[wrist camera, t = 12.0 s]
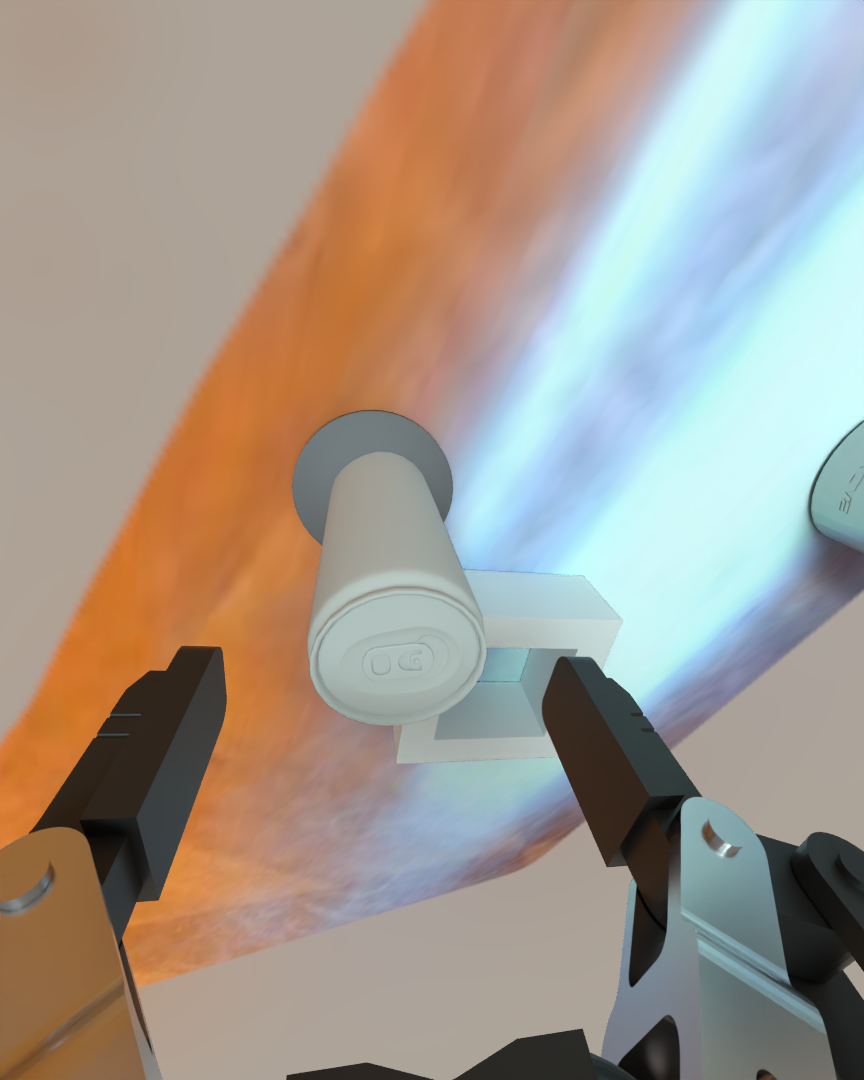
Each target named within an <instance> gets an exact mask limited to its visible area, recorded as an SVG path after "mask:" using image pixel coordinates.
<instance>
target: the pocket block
mask: <svg viewBox="0 0 864 1080" xmlns="http://www.w3.org/2000/svg"><path fill="white" fill-rule="evenodd" d="M463 571H464V573H465V575H466V578H467V580H468V583H469V585H470V587H471V590H472V592H473V594H474V597H475V599H476V602H477V604H478V606H479V609H480V611H481V614H482V616H483V622H484V631H485V639H486V648H531V649H530V652H529V655H528V658H527V662H526V665H525V668H524V671H523V674H522V677H521V680H520V682H477V683H476V685H475V687H474V688H473V689H472V690H471V691H470V692H469V693H468V694H467V695H466V696H465V697H464V698H463V699H462V700H461V701H460V702H459V703H457V704H456V705H454V706H453V707H451V708H450V709H448V710H447V711H445V712H443V713H441V714H439V715H436V716H434V717H432V718H429V719H427V720H424V721H420V722H416V723H411V724H407V725H394V726H393V733H394V745H395V757H396V764H406V763H429V762H453V761H476V760H500V759H523V758H547V757H558V754H557V752H556V750H555V747H554V745H553V743H552V741H551V738H550V736H549V734H548V731H547V729H546V727H545V724H544V721H543V717H542V700H543V697H544V694H545V691H546V688H547V686H548V683H549V680H550V678H551V675H552V672H553V669H554V667H555V664H556V662H557V660H558V658H559V657H561V656H576V657H591V658H593V659H594V660H595V662H596V663H597V664H598V666H599V667H600V669H601V670H602V669H603V666H604V664H605V662H606V659H607V657H608V655H609V652H610V650H611V648H612V646H613V643H614V641H615V639H616V636H617V634H618V632H619V629H620V627H621V625H622V622H623V620H622V618H621V617H620V616H619V615H618V614H617V613H616V612H615V611H614V609H613V608H612V607H611V606H610V605H609V604H608V603H607V601H606V600H605V599H604V598H603V597H602V596H601V595H600V594H599V592H598V591H597V590H596V589H595V588H594V587H593V586H592V584H591V583H590V582H589V581H588V580H587V579H586V578H585V577H584V576H576V575H558V574H539V573H520V572H501V571H482V570H463Z"/></svg>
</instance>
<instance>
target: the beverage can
mask: <svg viewBox="0 0 864 1080" xmlns="http://www.w3.org/2000/svg"><path fill="white" fill-rule="evenodd" d="M307 645H308V659H309V662H310V676H311V679H312V681H313V684H314V686H315V689H316V691H317V693H318V694H319V695H320V696H321V698H322V699H323V700H324V701H325V702H326V703H327V705H328V706H329V707H331V708H332V709H334V710H335V711H337V712H339V713H340V714H342V715H343V716H345V717H347V718H350V719H353V720H356V721H359V722H361V723H365V724H373V725H380V726H394V725H407V724H411V723H416V722H420V721H424V720H427V719H429V718H432V717H434V716H436V715H439V714H441V713H443V712H445V711H447V710H448V709H450V708H451V707H453V706H454V705H456V704H457V703H459V702H460V701H461V700H462V699H463V698H464V697H465V696H466V695H467V694H468V693H469V692H470V691H471V690H472V689H473V688H474V687H475V685H476V683H477V681H478V680H479V678H480V676H481V674H482V672H483V670H484V665H485V661H486V657H487V648H486V639H485V631H484V622H483V616H482V614H481V611H480V609H479V606H478V604H477V602H476V599H475V597H474V594H473V592H472V590H471V587H470V585H469V583H468V580H467V578H466V575H465V573H464V571H463V568H462V566H461V563H460V561H459V559H458V556H457V554H456V552H455V549H454V547H453V544H452V542H451V540H450V537H449V535H448V532H447V530H446V528H445V525H444V523H443V521H442V518H441V516H440V513H439V511H438V509H437V506H436V504H435V501H434V499H433V497H432V494H431V492H430V489H429V487H428V485H427V483H426V480H425V478H424V476H423V474H422V472H421V471H420V470H419V469H418V468H417V467H416V466H415V464H414V463H412V462H411V461H409V460H408V459H406V458H405V457H403V456H400V455H397V454H394V453H391V452H374V453H370V454H366V455H363V456H361V457H359V458H358V459H356V460H354V461H352V462H351V463H349V464H348V465H347V466H346V467H344V468H343V469H342V470H341V472H340V473H339V474H338V476H337V477H336V478H335V481H334V484H333V487H332V490H331V496H330V502H329V508H328V514H327V520H326V526H325V532H324V538H323V544H322V550H321V556H320V562H319V568H318V574H317V580H316V586H315V592H314V598H313V604H312V610H311V616H310V623H309V629H308V636H307Z"/></svg>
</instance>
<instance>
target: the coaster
mask: <svg viewBox="0 0 864 1080" xmlns="http://www.w3.org/2000/svg"><path fill="white" fill-rule="evenodd" d="M374 452H391V453H394V454H397V455H400V456H403V457H405V458H406V459H408V460H409V461H411V462H412V463H414V464H415V466H416V467H417V468H418V469H419V470H420V471H421V472H422V474H423V476H424V478H425V480H426V483H427V485H428V487H429V489H430V492H431V494H432V497H433V499H434V501H435V504H436V506H437V509H438V511H439V513H440V516H441V518H442V521H443V522H444V521H445V519H446V517H447V514H448V512H449V509H450V505H451V501H452V493H453V482H452V475H451V470H450V467H449V464H448V461H447V459H446V457H445V455H444V453H443V451H442V450H441V448H440V447H439V445H438V443H437V442H436V441H435V440H434V438H433V437H432V436H431V435H430V434H429V433H428V432H427V431H426V430H425V429H424V428H422V427H421V426H420V425H418V424H417V423H415V422H414V421H412V420H410V419H408V418H406V417H404V416H401V415H398V414H395V413H392V412H387V411H381V410H363V411H356V412H352V413H348V414H345V415H342V416H339V417H337V418H335V419H333V420H332V421H330V422H328V423H327V424H325V425H324V426H323V427H321V428H320V429H319V430H318V431H317V432H316V433H315V434H314V435H313V436H312V437H311V438H310V439H309V441H308V442H307V443H306V445H305V446H304V448H303V450H302V452H301V454H300V456H299V458H298V461H297V463H296V466H295V470H294V475H293V485H292V489H293V499H294V503H295V507H296V510H297V513H298V516H299V517H300V519H301V521H302V523H303V525H304V526H305V528H306V529H307V530H308V532H309V533H310V534H311V535H312V536H313V537H314V539H315V540H317V541H318V542H319V543H320V544H321V545H322V544H323V538H324V532H325V526H326V520H327V514H328V508H329V502H330V496H331V490H332V487H333V484H334V481H335V478H336V477H337V476H338V474H339V473H340V472H341V470H342V469H343V468H344V467H346V466H347V465H348V464H349V463H351V462H352V461H354V460H356V459H358V458H359V457H361V456H363V455H366V454H370V453H374Z"/></svg>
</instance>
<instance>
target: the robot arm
mask: <svg viewBox="0 0 864 1080" xmlns="http://www.w3.org/2000/svg"><path fill="white" fill-rule="evenodd" d="M811 512H812V518H813V522H814V524H815V525H816V527H817V529H818V530H819V531H820V532H821V533H822V534H824V535H825V536H826V537H829V538H831V539H833V540H835V541H837V542H839V543H842V544H844V545H846V546H848V547H850V548H853V549H855V550H857V551H859V552H861V553H863V554H864V422H863V423H862V424H861V425H860V426H859V427H857V428H856V429H855V430H854V431H853V432H852V433H851V434H850V435H849V436H847V438H846V439H845V440H844V441H843V442H842V443H841V444H840V446H839V447H838V448H837V449H836V450H835V451H834V453H833V454H832V456H831V457H830V459H829V460H828V462H827V463H826V465H825V466H824V468H823V470H822V472H821V474H820V476H819V478H818V480H817V482H816V486H815V489H814V493H813V496H812V505H811ZM226 702H227V695H226V684H225V673H224V661H223V652H222V649H221V647H207V646H182V647H181V648H180V649H179V650H178V651H177V653H176V655H175V656H174V658H173V660H172V662H171V663H170V665H169V667H168V668H167V670H166V671H149V672H148V673H146V674H145V675H144V676H143V677H141V678H140V679H139V680H138V681H136V682H135V683H134V684H133V685H131V686H130V687H129V688H128V689H126V690H125V692H124V693H123V695H122V696H121V698H120V699H119V701H118V702H117V704H116V705H115V707H114V709H113V710H112V712H111V713H110V717H109V718H107V719H106V721H105V722H104V724H103V725H102V727H101V728H100V730H99V731H98V733H97V737H96V738H94V739H93V740H92V742H91V743H90V745H89V746H88V748H87V749H86V751H85V752H84V754H83V755H82V757H81V758H80V760H79V761H78V763H77V764H76V766H75V767H74V769H73V770H72V772H71V773H70V775H69V776H68V778H67V779H66V781H65V782H64V784H63V785H62V787H61V788H60V790H59V791H58V793H57V795H56V796H55V798H54V799H53V801H52V802H51V804H50V805H49V807H48V808H47V810H46V811H45V813H44V814H43V816H42V817H41V819H40V820H39V821H38V823H37V824H36V825H35V827H34V828H33V829H32V830H31V831H30V832H29V834H28V835H25V836H23V837H21V838H19V839H17V840H15V841H13V842H12V843H10V844H8V845H6V846H5V847H3V848H2V849H0V1080H163V1079H162V1076H161V1073H160V1069H159V1066H158V1063H157V1060H156V1056H155V1052H154V1049H153V1045H152V1042H151V1038H150V1034H149V1030H148V1027H147V1023H146V1020H145V1016H144V1012H143V1009H142V1005H141V1001H140V998H139V994H138V990H137V987H136V983H135V979H134V976H133V972H132V968H131V965H130V961H129V957H128V954H127V950H126V946H125V943H124V939H123V934H124V932H125V929H126V927H127V924H128V922H129V919H130V917H131V914H132V912H133V909H134V907H135V904H136V902H143V901H156V900H159V898H160V895H161V892H162V889H163V887H164V884H165V881H166V878H167V876H168V873H169V870H170V867H171V865H172V862H173V859H174V856H175V854H176V851H177V848H178V845H179V843H180V840H181V837H182V834H183V832H184V829H185V826H186V823H187V821H188V818H189V815H190V813H191V810H192V807H193V804H194V802H195V799H196V796H197V793H198V791H199V788H200V785H201V782H202V780H203V777H204V774H205V771H206V769H207V766H208V763H209V760H210V758H211V755H212V752H213V749H214V747H215V744H216V741H217V738H218V736H219V733H220V730H221V727H222V724H223V721H224V717H225V711H226ZM542 717H543V721H544V724H545V727H546V729H547V731H548V734H549V736H550V738H551V741H552V743H553V745H554V747H555V750H556V752H557V754H558V757H559V759H560V761H561V763H562V766H563V768H564V770H565V773H566V775H567V777H568V779H569V782H570V784H571V786H572V789H573V791H574V793H575V795H576V798H577V800H578V802H579V805H580V807H581V809H582V811H583V814H584V816H585V818H586V821H587V823H588V825H589V827H590V830H591V832H592V834H593V837H594V839H595V841H596V843H597V846H598V848H599V850H600V852H601V855H602V857H603V859H604V861H605V864H606V866H607V867H616V866H628V868H629V870H630V872H631V874H632V876H633V879H632V881H631V883H630V885H629V891H628V902H627V910H626V919H625V929H624V939H623V948H622V958H621V967H620V978H619V985H618V992H617V997H616V1001H615V1004H614V1007H613V1010H612V1012H611V1014H610V1017H609V1020H608V1024H607V1027H606V1032H605V1036H604V1041H603V1047H602V1054H601V1057H599V1056H597V1055H595V1054H592V1053H590V1052H589V1049H588V1045H587V1042H586V1039H585V1035H584V1032H583V1029H577V1030H571V1031H565V1032H558V1033H552V1034H546V1035H539V1036H533V1037H526V1038H520V1039H516V1040H515V1041H513V1042H511V1043H510V1044H508V1045H507V1046H505V1047H504V1048H502V1049H501V1050H499V1051H498V1052H496V1053H494V1054H493V1055H491V1056H490V1057H488V1058H487V1059H485V1060H484V1061H482V1062H480V1063H479V1064H477V1065H476V1066H474V1067H473V1068H471V1069H470V1070H468V1071H466V1072H465V1073H463V1074H462V1075H460V1076H459V1077H457V1078H455V1079H453V1080H864V1000H863V999H862V997H861V996H860V994H859V993H858V991H857V990H856V989H855V987H854V986H853V984H852V983H851V981H850V980H849V978H848V977H847V975H846V974H845V973H844V971H843V969H844V968H845V967H847V966H848V965H850V964H851V963H852V962H854V961H855V960H856V962H857V963H858V965H859V966H860V967H861V969H862V970H863V971H864V852H863V851H862V850H860V849H859V848H857V847H856V846H855V845H853V844H851V843H850V842H848V841H846V840H844V839H842V838H840V837H838V836H835V835H832V834H829V833H823V832H815V833H813V834H811V835H810V836H809V837H808V838H807V839H806V840H805V841H804V842H803V843H802V844H801V845H800V846H795V845H792V844H788V843H785V842H781V841H778V840H775V839H772V838H768V837H765V836H761V835H758V834H755V833H754V831H753V830H752V829H751V828H750V827H749V826H748V825H747V824H746V822H745V821H744V820H742V819H741V818H740V817H739V816H738V815H737V814H735V813H734V812H733V811H732V810H730V809H729V808H727V807H725V806H724V805H722V804H720V803H718V802H716V801H714V800H711V799H708V798H703V797H702V796H701V794H700V793H699V792H698V790H697V789H696V787H695V786H694V785H693V783H692V782H691V780H690V779H689V778H688V776H687V775H686V773H685V772H684V770H683V769H682V767H681V766H680V765H679V763H678V762H677V760H676V759H675V758H674V756H673V755H672V753H671V752H670V750H669V749H668V748H667V746H666V745H665V743H664V742H663V740H662V739H661V738H660V736H659V735H658V733H657V732H654V728H653V726H652V725H651V723H650V722H649V721H648V719H647V718H646V717H644V716H643V712H642V711H641V709H640V708H639V706H638V705H637V703H636V702H635V701H634V699H633V698H632V696H631V695H630V694H629V693H628V692H627V691H626V690H624V689H623V688H622V687H621V686H620V685H619V684H618V683H616V682H615V681H614V680H613V679H612V678H606V676H605V675H604V673H603V672H602V670H601V669H600V667H599V666H598V664H597V663H596V662H595V660H594V659H593V658H591V657H576V656H561V657H559V658H558V660H557V662H556V664H555V667H554V669H553V672H552V675H551V678H550V680H549V683H548V686H547V688H546V691H545V694H544V697H543V700H542ZM286 1080H433V1079H429V1078H425V1077H421V1076H417V1075H414V1074H410V1073H406V1072H402V1071H398V1070H394V1069H390V1068H386V1067H382V1066H378V1065H375V1064H371V1063H361V1064H355V1065H348V1066H342V1067H336V1068H330V1069H323V1070H317V1071H311V1072H304V1073H298V1074H291V1075H287V1078H286Z"/></svg>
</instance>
